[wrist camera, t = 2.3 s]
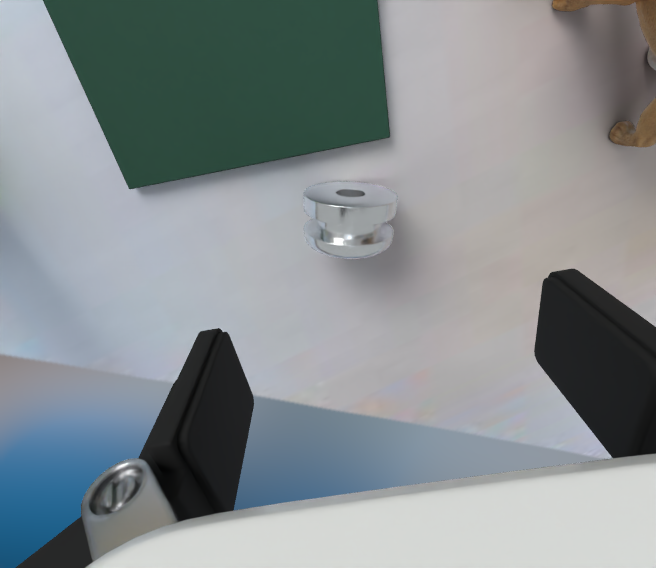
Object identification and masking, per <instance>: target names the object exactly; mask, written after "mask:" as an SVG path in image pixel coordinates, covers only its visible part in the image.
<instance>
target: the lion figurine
mask: <svg viewBox="0 0 656 568" xmlns="http://www.w3.org/2000/svg"><path fill="white" fill-rule="evenodd" d="M634 2H635V3H636V9H637V14H638V18H639V22H640V27H641V29H642V32H643V34H644V37H645V39H646V41H647V43H648V45H649V47H650V48H649V51H648V54H647V59H648V63H649V65H650V66H651V67H652V68H653V69H655V70H656V0H553V3H552V8H554V9H556V10H559V11H575V10H578V9H581V8H584V7H587V6H589V5H594V4H617V5H624V6H625V5H630V4H632V3H634ZM609 137H610V139H611V141H612V142H614V143H615V144H619V145H624V146H635V147H649V146H652V145H654V144H655V143H656V98H655V99H654V100H653V101H652V102H651V103H650V104H649V105H648V106H647V107H646V108H645V110H644V111H643V112H642V114H641V116H640V119H639V121H638V124H637V127H636V130H635V127H634V125H633V124H632V123H631V122H630V121H621V122H618V123H617V124H616V125H615V126H614V127H613V128H612V130H611V132H610V136H609Z"/></svg>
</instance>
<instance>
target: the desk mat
mask: <svg viewBox="0 0 656 568" xmlns="http://www.w3.org/2000/svg"><path fill="white" fill-rule="evenodd" d="M43 1H44V3H45V6H46V8H47V10H48V12H49V14H50V17H51V19H52V21H53V23H54V25H55V28H56V30H57V32H58V34H59V36H60V38H61V41H62V43H63V45H64V47H65V49H66V52H67V54H68V56H69V58H70V60H71V63H72V65H73V67H74V69H75V71H76V74H77V76H78V78H79V80H80V82H81V84H82V87H83V89H84V91H85V93H86V95H87V98H88V100H89V102H90V104H91V106H92V109H93V111H94V113H95V115H96V117H97V119H98V122H99V124H100V126H101V128H102V130H103V133H104V135H105V137H106V139H107V141H108V144H109V146H110V148H111V150H112V152H113V155H114V157H115V159H116V161H117V163H118V165H119V168H120V170H121V172H122V174H123V176H124V179H125V181H126V183H127V185H128V187H129V189H134V188H139V187H144V186H149V185H154V184H159V183H164V182H169V181H174V180H179V179H184V178H189V177H194V176H199V175H204V174H209V173H214V172H219V171H224V170H229V169H234V168H239V167H244V166H249V165H254V164H259V163H264V162H269V161H274V160H279V159H284V158H289V157H294V156H299V155H304V154H309V153H314V152H319V151H324V150H329V149H334V148H339V147H344V146H349V145H354V144H359V143H364V142H369V141H374V140H379V139H384V138H389V137H390V132H389V121H388V110H387V99H386V88H385V77H384V67H383V56H382V45H381V34H380V23H379V12H378V1H377V0H43Z"/></svg>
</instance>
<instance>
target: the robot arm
mask: <svg viewBox="0 0 656 568" xmlns="http://www.w3.org/2000/svg"><path fill="white" fill-rule="evenodd" d="M534 352H535V357H536V360H537V362H538V363H539V365H540V366H541V367H542V368H543V370H544V371H545V372H546V374H547V375H548V376H549V377H550V379H551V380H552V381H553V382H554V384H555V385H556V386H557V388H558V389H559V390H560V391H561V393H562V394H563V395H564V396H565V398H566V399H567V400H568V402H569V403H570V404H571V405H572V407H573V408H574V409H575V410H576V412H577V413H578V414H579V416H580V417H581V418H582V419H583V421H584V422H585V423H586V424H587V426H588V427H589V428H590V430H591V431H592V432H593V433H594V435H595V436H596V437H597V438H598V440H599V441H600V442H601V444H602V445H603V446H604V447H605V449H606V450H607V451H608V452H609V454H610V455H611V456H612V459H604V460H597V461H589V462H581V463H573V464H566V465H558V466H551V467H543V468H535V469H527V470H519V471H511V472H505V473H497V474H489V475H481V476H474V477H466V478H459V479H452V480H444V481H437V482H429V483H422V484H415V485H408V486H400V487H393V488H386V489H378V490H371V491H364V492H357V493H349V494H342V495H335V496H329V497H321V498H314V499H307V500H300V501H293V502H285V503H279V504H273V505H266V506H260V507H253V508H247V509H241V510H234V505H235V500H236V494H237V489H238V484H239V479H240V474H241V469H242V463H243V458H244V453H245V448H246V443H247V438H248V433H249V428H250V422H251V417H252V412H253V406H254V399H253V394H252V392H251V389H250V387H249V384H248V382H247V379H246V377H245V374H244V371H243V369H242V366H241V364H240V361H239V359H238V356H237V354H236V351H235V349H234V346H233V344H232V341H231V339H230V336H229V334H228V333H227V332H222V330H221V329H219V328H218V329H212V330H206V331H201V332H200V333H199V334H198V336H197V338H196V340H195V342H194V345H193V347H192V349H191V351H190V353H189V355H188V357H187V360H186V362H185V364H184V366H183V368H182V370H181V372H180V375H179V377H178V379H177V380H176V381H175V383H174V384H173V386H172V388H171V391H170V393H169V395H168V397H167V399H166V401H165V403H164V405H163V407H162V409H161V412H160V414H159V416H158V418H157V420H156V422H155V425H154V426H153V429H152V431H151V433H150V435H149V437H148V439H147V441H146V443H145V445H144V448H143V450H142V452H141V454H140V456H139V458H137V459H128V460H125V461H122V462H119V463H117V464H115V465H114V466H112V467H110V468H109V469H107V470H106V471H105V472H104V473H102V474H101V475H100V476H99V477H98V478H97V479H96V480H95V481H94V482H93V483H92V484H91V486H90V487H89V489H88V490H87V492H86V494H85V495H84V498H83V501H82V504H81V517H80V518H79V519H77V520H76V521H75V522H74V523H72V524H71V525H70V526H68V527H67V528H66V529H65V530H63V531H62V532H61V533H59V534H58V535H57V536H56V537H54V538H53V539H52V540H50V541H49V542H48V543H47V544H45V545H44V546H43V547H42V548H40V549H39V550H38V551H36V552H35V553H34V554H32V555H31V556H30V557H29V558H27V559H26V560H25V561H24V562H23V563H21V564H20V565H18V566H17V567H16V568H656V327H655V326H654V325H652V324H651V323H649V322H648V321H647V320H645V319H644V318H642V317H641V316H640V315H638V314H637V313H636V312H634V311H633V310H631V309H630V308H629V307H627V306H626V305H625V304H623V303H622V302H620V301H619V300H618V299H616V298H615V297H614V296H612V295H611V294H609V293H608V292H607V291H605V290H604V289H603V288H601V287H600V286H598V285H597V284H596V283H594V282H593V281H591V280H590V279H589V278H587V277H586V276H585V275H583V274H582V273H580V272H579V271H578V270H576V269H568V270H562V271H556V272H552V273H550V274H549V276H548V278H546V279H544V281H543V285H542V293H541V301H540V309H539V317H538V325H537V334H536V342H535V351H534ZM233 510H234V511H233Z"/></svg>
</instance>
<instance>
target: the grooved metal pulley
mask: <svg viewBox="0 0 656 568" xmlns="http://www.w3.org/2000/svg"><path fill="white" fill-rule="evenodd" d="M397 200H398V195H397V193H396V192H394V191H393V190H391V189H389V188H386V187H383V186H380V185H375V184H370V183H363V182H350V181H337V182H325V183H320V184H315V185H312V186H310V187H308V188H306V189H305V190H304V212H305V213H306V214H307V215H308V216H309V217H311V218H312V219H310V220H309V221H307V222H306V223H305V225H304V237H305V240H306V242H307V243H308V245H309V246H310V247H311V248H313V249H314V250H315V251H317V252H319V253H321V254H324V255H327V256H330V257H335V258H342V259H362V258H368V257H372V256H375V255H378V254H380V253H382V252H383V251H385V250H386V249H387V248H388V247H389V246H390V244H391V242H392V239H393V233H394V231H393V228H392V227H391V226H390V225H389V224H388V223H387V221H389V220H391V219H393V218H394V217H395V215H396V208H397Z"/></svg>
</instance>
